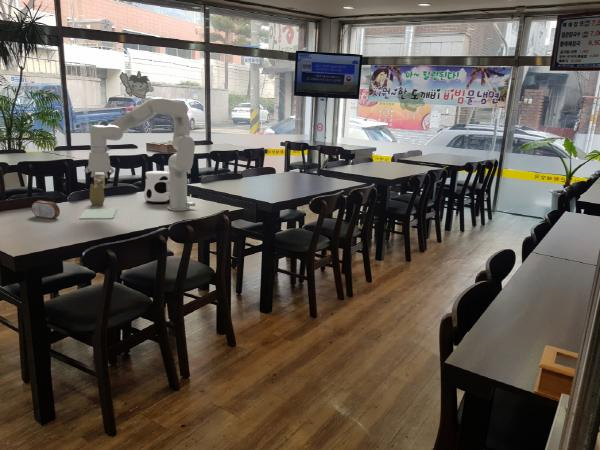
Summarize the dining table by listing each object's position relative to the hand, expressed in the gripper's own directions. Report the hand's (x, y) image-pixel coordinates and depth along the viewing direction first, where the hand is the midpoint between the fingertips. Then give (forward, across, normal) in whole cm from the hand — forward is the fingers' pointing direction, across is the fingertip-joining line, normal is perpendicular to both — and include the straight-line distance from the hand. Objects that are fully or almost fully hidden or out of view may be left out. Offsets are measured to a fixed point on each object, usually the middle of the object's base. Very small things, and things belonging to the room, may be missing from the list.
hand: (100, 184), depth 252 cm
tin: (+17, +25, +7) cm, 31 cm away
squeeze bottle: (+16, +5, -25) cm, 30 cm away
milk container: (+16, -29, -34) cm, 47 cm away
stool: (+1, 0, 0) cm, 1 cm away
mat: (+16, +1, 0) cm, 16 cm away
